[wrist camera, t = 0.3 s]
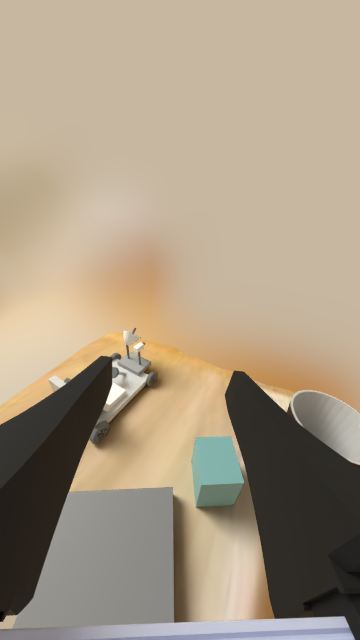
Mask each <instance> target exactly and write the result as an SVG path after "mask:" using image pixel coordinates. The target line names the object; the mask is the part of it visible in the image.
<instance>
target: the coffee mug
mask: <svg viewBox="0 0 360 640" xmlns="http://www.w3.org/2000/svg"><path fill="white" fill-rule="evenodd" d="M287 413H288V414H289V415H290V416H291V417H292V418H293V419H294V420H296V421H297V422H298V423H299V424H300V425H302V426H303V427H304V428H305V429H307V430H308V431H309V432H310V433H312V434H313V435H314V436H315V437H317V438H318V439H319V440H321V441H322V442H323V443H325V444H326V445H328V446H329V447H330V448H332V449H333V450H334V451H336V452H337V453H339V454H340V455H341V456H343V457H344V458H346V459H347V460H349V461H350V462H352V463H353V464H355V465H356V466H358V467H359V468H360V413H359V412H358V411H356V410H355V409H354V408H352V407H351V406H349V405H348V404H346V403H344V402H343V401H341V400H339V399H337V398H335V397H333V396H331V395H328V394H325V393H323V392H319V391H314V390H301V391H298V392H296V393H294V395H293V396H292V398H291V401H290V404H289V407H288V411H287Z"/></svg>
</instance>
